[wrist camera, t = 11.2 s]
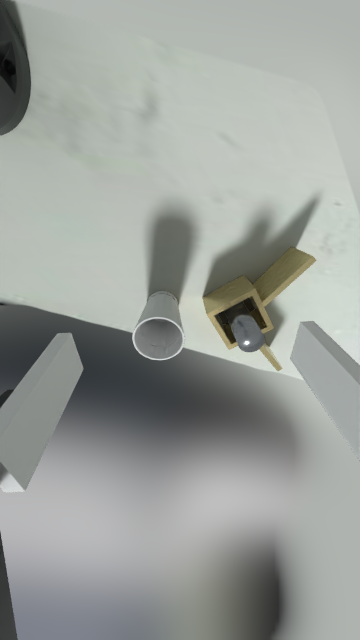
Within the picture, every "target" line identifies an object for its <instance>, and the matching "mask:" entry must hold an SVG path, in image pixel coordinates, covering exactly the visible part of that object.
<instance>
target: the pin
mask: <svg viewBox="0 0 360 640" xmlns="http://www.w3.org/2000/svg"><path fill="white" fill-rule="evenodd" d="M224 312H225V315H226V317H227V319H228V322H229V324H230V327H231V329H232V331H233V334H234V336H235V339H236V341H237V343H238V346H239V348H240V349H241V350H243V351H245V352H254V351H257V350H258V349H260V348H261V347H262V346H263V344H264V342H265V337H264V335H263V333H262V331H261V330H260V328H259V327H258V325H257V323H256V322H255V320H254V319H253V317H252V315H251V314H250V312H249V311H248V309H247V307H246V306H245V304H244V303H243V301H241V302H239V303H237V304H235V305H233V306H231V307H230V308H228V309H226V310H224Z"/></svg>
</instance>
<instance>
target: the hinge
mask: <svg viewBox="0 0 360 640" xmlns="http://www.w3.org/2000/svg"><path fill="white" fill-rule="evenodd" d="M315 261H316V259H315V258H314V257H313V256H311V255H309V254H307V253H305V252H303V251H300V250H298V249H296V248H294V247H291V248H290V249H289V250H288V251H286V252H285V253H284V254H283V255H282V256H281V257H280V258H279V259H278V260H277V261H276V262H275V263H274V264H273V265H272V266H271V267H270V268H269V269H268V270H267V271H266V272H265V273H264V274H263V275H262V276H261V277H260V278H259V279H258V280H257V281H256V282H255V283H254V284H253V285H252V284H251V283H250V281H249V280H248V279H247V278H246V277H245V276H244V275H242V276H241V277H239V278H237V279H235V280H233V281H231V282H230V283H228V284H226V285H224V286H222V287H221V288H219V289H217V290H215V291H213V292H212V293H210V294H208V295H206V296H204V297H202V298H203V302H204V306H205V310H206V314H207V316H208V317H209V319H210V320H211V322H212V324H213V325H214V327H215V328H216V330H217V332H218V333H219V335H220V336H221V338H222V340H223V341H224V343H225V344H226V346H227V348H228V349H229V350H230V349H232V348H234V347H236V346H238V343H237V341H236V339H235V336H234V334H233V331H232V329H231V327H230V324H229V323H227V324H225V325H224V324H223V322H222V321H221V319H220V317H219V316H218V313H220V312H222V311H224V310H226V309H228V308H230V307H231V306H233V305H235V304H237V303H239V302H241V301H243V300H245V299H247V298H250V300H251V302H252V304H253V306H254V308H255V310H253V311H251V312H250V314H251V315H252V317H253V319H254V320H255V322H256V323H257V325H258V327H259V328H260V330H261V331H262V333H263V334H264V333H266V332H268V331H270V330H272V329H274V327H273V325H272V323H271V321H270V318H269V316H268V314H267V312H266V310H265V308H264V306H266V305H267V304H269V303H270V302H271V301H272V300H273V299H274V298H275V297H276V296H277V295H279V294H280V293H281V292H282V291H283V290H284V289H285V288H286V287H287V286H289V285H290V284H291V283H292V282H293V281H294V280H295V279H296V278H297V277H299V276H300V275H301V274H302V273H303V272H304V271H305V270H306V269H307V268H309V267H310V266H311V265H312V264H313V263H314V262H315ZM263 305H264V306H263ZM260 351H261V352H262V353H263V354H264V355H265V357H266V358H267V359H268V360H269V361H270V363H271V364H272V365H273V366H274V367H275V368H276V370H277V371H279V370H281V369H282V367H281V366H280V364H279V362H278V361H277V359H276V357H275V356H274V354H273V353H272V351H271V349H270V348H269V346H268V345H267V344H266V343H265V342H264V344H263V346H262V347H261V348H260Z"/></svg>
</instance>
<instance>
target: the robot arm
mask: <svg viewBox="0 0 360 640" xmlns="http://www.w3.org/2000/svg"><path fill="white" fill-rule="evenodd" d="M29 97H30V72H29V66H28V61H27V56H26V53H25V49H24V46H23V43H22V41H21V38H20V36H19V33H18V31H17V29H16V27H15V25H14V23H13V21H12V19H11V17H10V16H9V14H8V12H7V11H6V9H5V8H4V6H3V5H2V3H1V2H0V135H3V134H6V133H8V132H10V131H11V130H13V129H14V128H15V127H16V126H17V125H18V124H19V123H20V121H21V120H22V118H23V117H24V114H25V112H26V110H27V106H28V103H29ZM290 359H291V361H292V362H293V364H294V365H295V367H296V368H297V370H298V371H299V373H300V374H301V376H302V377H303V378H304V380H305V381H306V383H307V384H308V386H309V387H310V389H311V390H312V391H313V393H314V395H315V396H316V398H317V399H318V400H319V402H320V403H321V405H322V406H323V408H324V409H325V411H326V412H327V414H328V415H329V417H330V418H331V420H332V421H333V422H334V424H335V425H336V427H337V428H338V430H339V431H340V433H341V434H342V436H343V437H344V438H345V440H346V441H347V443H348V444H349V446H350V447H351V449H352V450H353V452H354V453H355V455H356V456H357V457H358V459H359V461H360V365H359V364H358V363H357V362H356V361H355V360H354V359H352V358H351V357H350V356H349V355H348V354H347V353H346V352H345V351H344V350H343V349H342V348H341V347H340V346H339V345H338V344H337V343H336V342H335V341H334V340H333V339H332V338H331V337H330V336H329V335H327V334H326V333H325V332H324V331H323V330H322V329H321V328H320V327H319V326H318V325H317V324H316V323H315V322H314V321H308V322H300V325H299V329H298V332H297V336H296V339H295V343H294V346H293V350H292V354H291V357H290ZM82 371H83V367H82V363H81V360H80V357H79V355H78V352H77V349H76V346H75V343H74V340H73V337H72V334H71V333H58V334H57V335H56V336H55V337H54V339H53V340H52V341H51V343H50V344H49V345H48V347H47V348H46V349H45V350H44V352H43V353H42V354H41V356H40V357H39V359H38V360H37V361H36V362H35V364H34V365H33V366H32V368H31V369H30V370H29V371H28V373H27V374H26V375H25V377H24V378H23V379H22V381H21V382H20V383H19V385H18V386H17V387H16V389H15V390H7V391H6V392H4V393H3V394H2V395H1V396H0V488H1V489H2V490H3V491H4V492H20V491H25V490H26V488H27V486H28V484H29V482H30V480H31V478H32V476H33V474H34V471H35V469H36V467H37V465H38V463H39V461H40V459H41V457H42V455H43V453H44V451H45V448H46V446H47V444H48V442H49V440H50V438H51V436H52V433H53V432H54V430H55V427H56V425H57V423H58V421H59V419H60V417H61V415H62V413H63V411H64V409H65V407H66V404H67V402H68V400H69V398H70V396H71V394H72V392H73V390H74V387H75V385H76V383H77V381H78V379H79V377H80V375H81V373H82ZM0 640H17V633H16V627H15V620H14V614H13V608H12V602H11V595H10V589H9V583H8V577H7V571H6V564H5V558H4V552H3V546H2V540H1V533H0Z"/></svg>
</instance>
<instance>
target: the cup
mask: <svg viewBox="0 0 360 640" xmlns="http://www.w3.org/2000/svg"><path fill="white" fill-rule="evenodd" d="M184 342H185V336H184V331H183V327H182V323H181V318H180V313H179V307H178V301H177V299H176V297H175V296H174V295H173V294H171V293H169V292H166V291H158V292H155V293H153V294H152V295H151V296H150V297H149V298H148V300H147V304H146V306H145V308H144V310H143V312H142V315H141V317H140V319H139V321H138V323H137V325H136V327H135V329H134V332H133V344H134V346H135V348H136V349H137V350H138V352H139V353H141V354H142V355H143V356H145V357H147V358H150V359H154V360H165V359H169V358H172V357H174V356H175V355H177V354H178V353H179V352H180V351H181V349H182V348H183V346H184Z"/></svg>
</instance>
